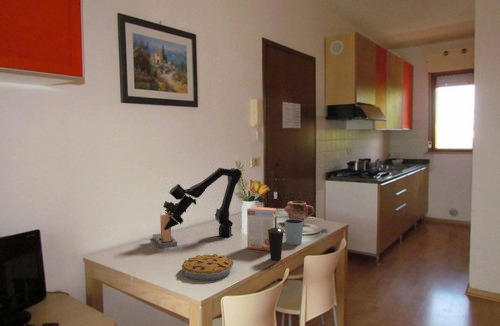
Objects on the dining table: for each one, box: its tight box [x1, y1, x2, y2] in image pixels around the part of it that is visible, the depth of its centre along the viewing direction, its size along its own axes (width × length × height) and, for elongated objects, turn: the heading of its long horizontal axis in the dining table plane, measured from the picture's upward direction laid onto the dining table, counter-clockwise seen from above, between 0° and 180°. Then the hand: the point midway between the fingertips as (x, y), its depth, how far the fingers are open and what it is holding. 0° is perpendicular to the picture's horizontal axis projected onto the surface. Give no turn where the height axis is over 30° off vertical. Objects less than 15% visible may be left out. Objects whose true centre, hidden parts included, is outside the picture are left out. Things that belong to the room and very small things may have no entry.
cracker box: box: [246, 206, 277, 252], centre depth 186 cm, size 14×6×21 cm, turn 69°
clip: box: [159, 213, 172, 242], centre depth 195 cm, size 7×4×13 cm, turn 24°
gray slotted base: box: [152, 233, 178, 249], centre depth 199 cm, size 20×9×2 cm, turn 25°
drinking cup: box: [268, 216, 285, 262], centre depth 170 cm, size 8×8×20 cm
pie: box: [181, 253, 235, 281], centre depth 156 cm, size 22×22×5 cm
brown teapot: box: [283, 200, 315, 223], centre depth 239 cm, size 20×12×14 cm, turn 72°
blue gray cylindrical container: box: [284, 218, 305, 246], centre depth 196 cm, size 10×10×12 cm
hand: (163, 227), depth 194 cm, fingers closed on clip, 7 cm apart
